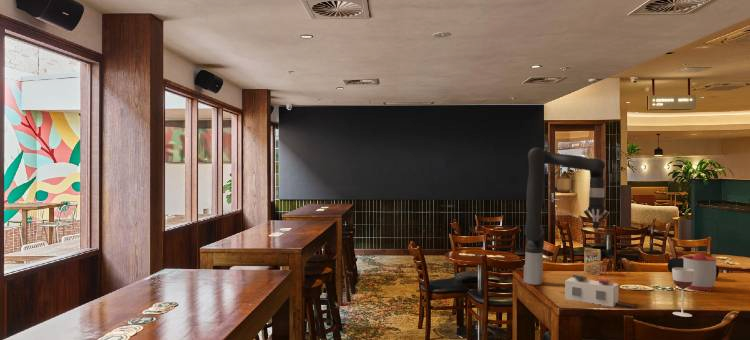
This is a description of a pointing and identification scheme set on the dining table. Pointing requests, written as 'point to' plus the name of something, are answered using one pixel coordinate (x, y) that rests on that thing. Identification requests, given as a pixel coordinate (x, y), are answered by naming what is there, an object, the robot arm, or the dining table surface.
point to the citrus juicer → (701, 271)
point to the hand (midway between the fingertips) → (596, 228)
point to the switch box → (592, 292)
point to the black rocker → (579, 277)
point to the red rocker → (603, 281)
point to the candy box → (592, 261)
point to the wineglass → (682, 284)
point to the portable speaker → (682, 265)
